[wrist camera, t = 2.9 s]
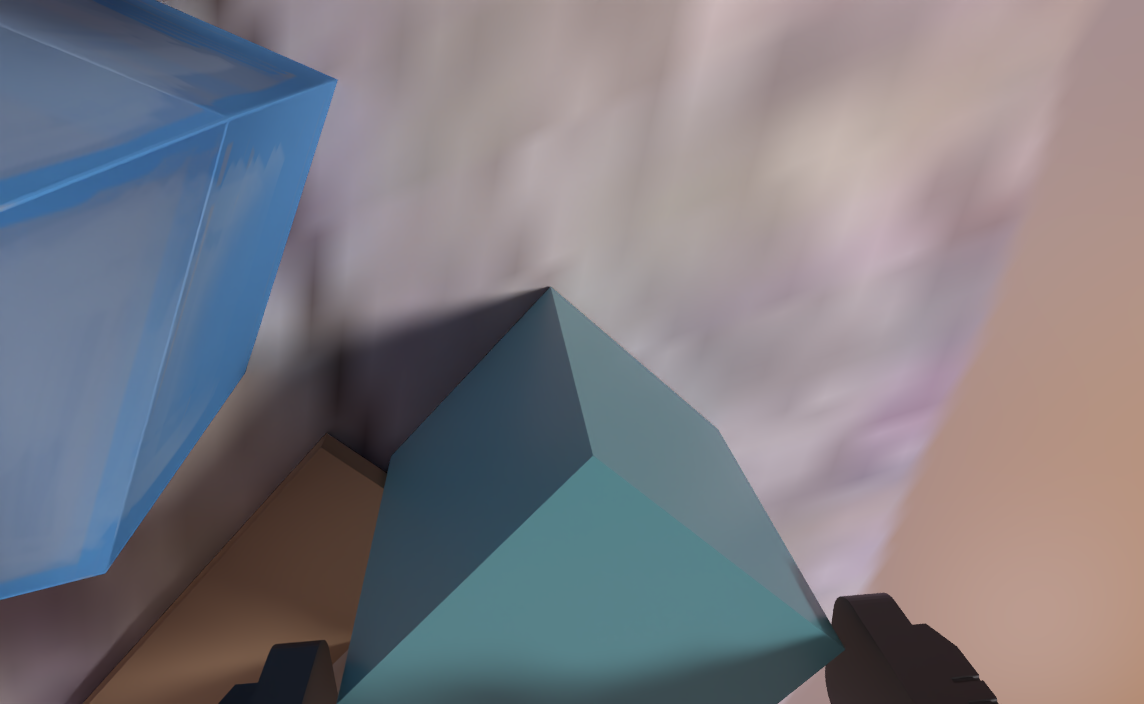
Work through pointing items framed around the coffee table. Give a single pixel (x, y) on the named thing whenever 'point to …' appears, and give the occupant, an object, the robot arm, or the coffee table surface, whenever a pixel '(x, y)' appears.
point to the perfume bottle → (129, 257)
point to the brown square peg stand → (264, 588)
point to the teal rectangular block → (576, 545)
